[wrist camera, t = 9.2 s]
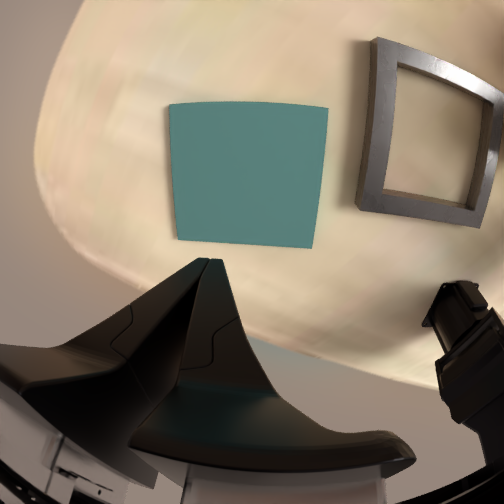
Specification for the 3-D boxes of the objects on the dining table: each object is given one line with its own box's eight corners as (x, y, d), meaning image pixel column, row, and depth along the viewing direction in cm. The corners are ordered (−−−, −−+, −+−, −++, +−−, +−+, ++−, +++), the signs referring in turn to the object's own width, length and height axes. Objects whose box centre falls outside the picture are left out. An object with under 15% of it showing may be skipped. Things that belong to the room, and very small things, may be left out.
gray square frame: (471, 221, 19) (479, 228, 18) (354, 203, 20) (359, 210, 19) (494, 92, 12) (504, 94, 11) (370, 40, 13) (377, 36, 12)
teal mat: (310, 245, 22) (311, 248, 22) (180, 236, 23) (177, 239, 22) (326, 107, 16) (328, 108, 16) (172, 104, 17) (169, 104, 16)
